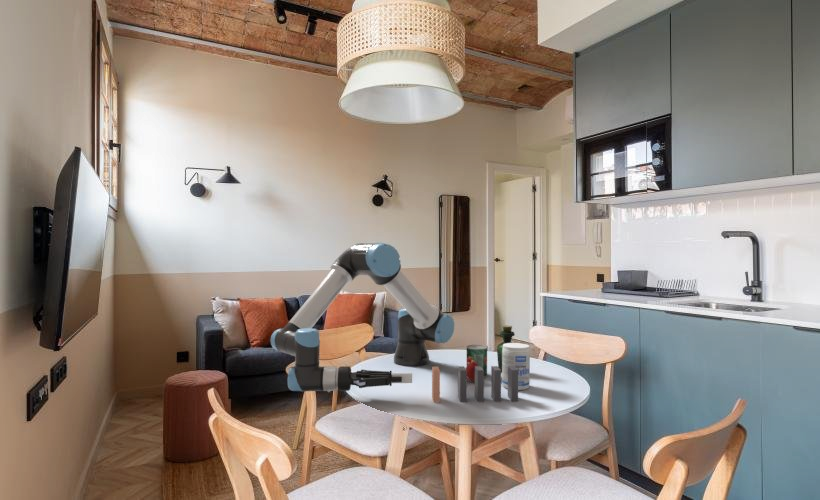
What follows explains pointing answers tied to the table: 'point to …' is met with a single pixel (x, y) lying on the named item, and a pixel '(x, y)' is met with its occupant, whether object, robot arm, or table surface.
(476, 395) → the domino
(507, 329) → the potion bottle
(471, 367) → the onion
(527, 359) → the supplement tub
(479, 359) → the canned tomato
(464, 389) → the domino
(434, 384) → the orange domino
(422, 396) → the table surface
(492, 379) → the domino
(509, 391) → the domino
